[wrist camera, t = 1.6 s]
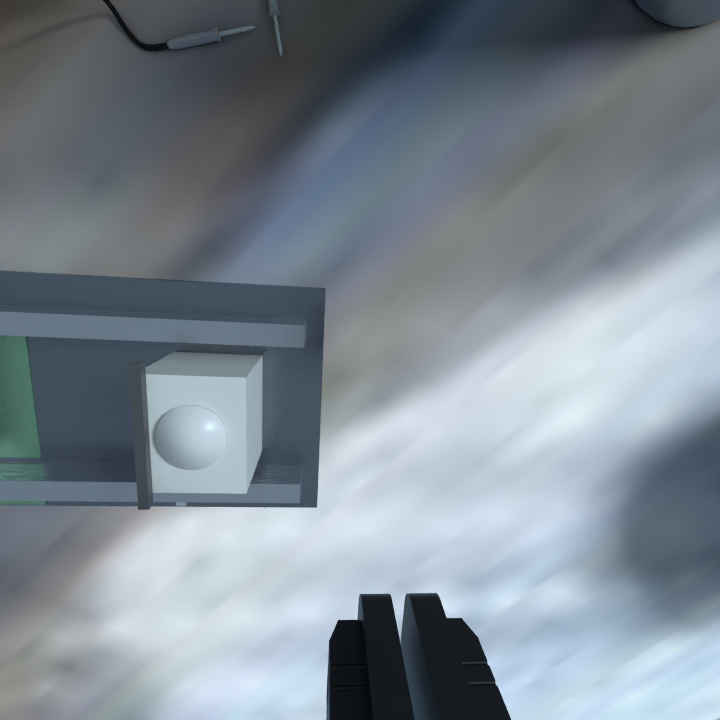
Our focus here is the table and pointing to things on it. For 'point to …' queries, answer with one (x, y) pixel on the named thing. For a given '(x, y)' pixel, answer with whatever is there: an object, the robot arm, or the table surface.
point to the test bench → (150, 344)
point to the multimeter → (200, 36)
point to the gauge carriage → (196, 423)
